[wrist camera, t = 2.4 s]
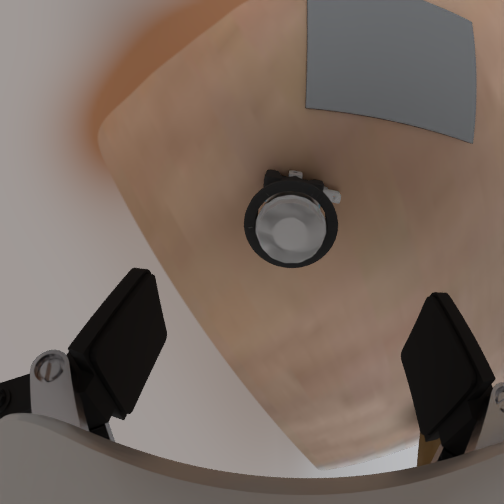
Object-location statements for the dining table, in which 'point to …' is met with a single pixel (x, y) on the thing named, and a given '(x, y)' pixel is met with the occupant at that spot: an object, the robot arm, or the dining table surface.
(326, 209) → the black mechanical part
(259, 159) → the dining table surface
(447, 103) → the mat
